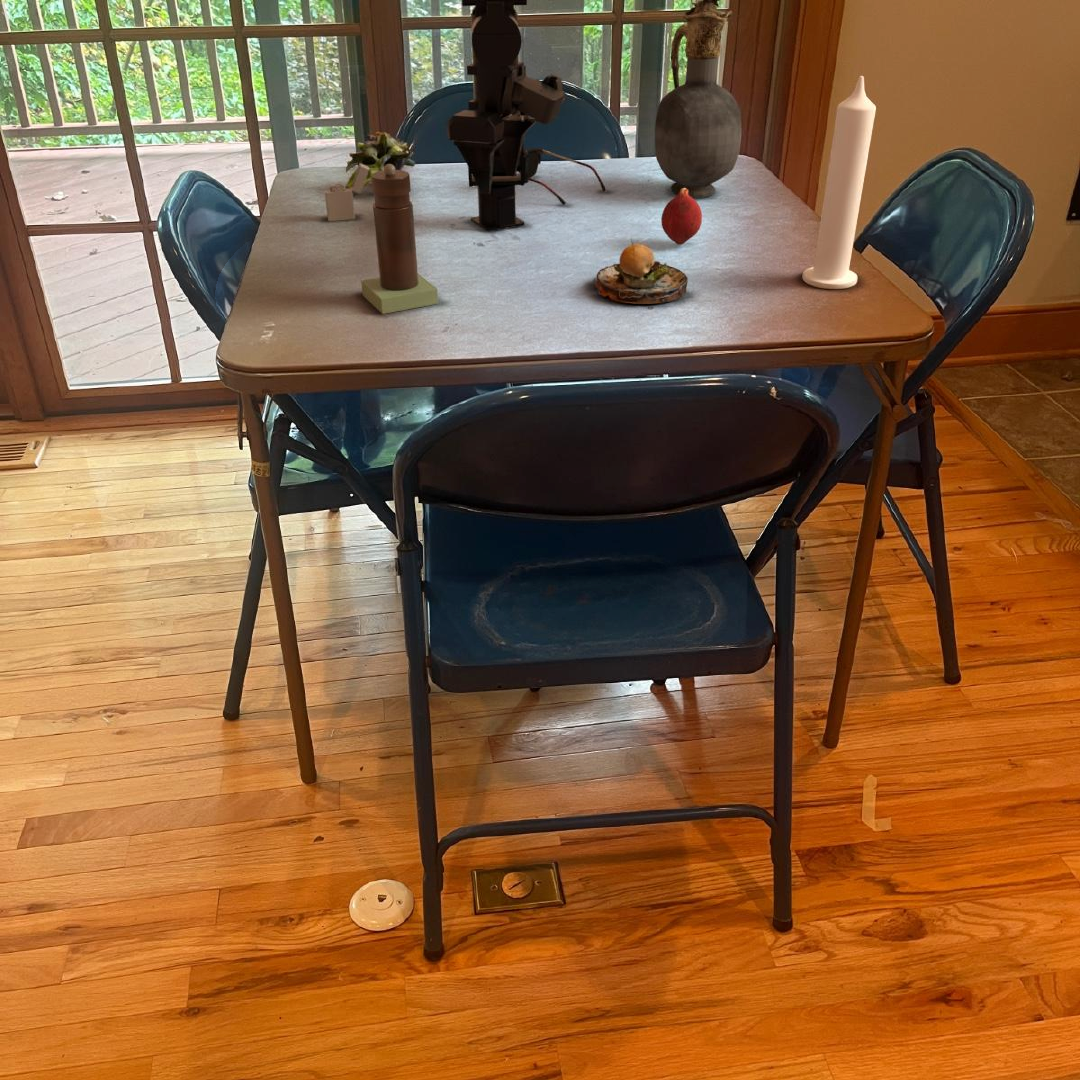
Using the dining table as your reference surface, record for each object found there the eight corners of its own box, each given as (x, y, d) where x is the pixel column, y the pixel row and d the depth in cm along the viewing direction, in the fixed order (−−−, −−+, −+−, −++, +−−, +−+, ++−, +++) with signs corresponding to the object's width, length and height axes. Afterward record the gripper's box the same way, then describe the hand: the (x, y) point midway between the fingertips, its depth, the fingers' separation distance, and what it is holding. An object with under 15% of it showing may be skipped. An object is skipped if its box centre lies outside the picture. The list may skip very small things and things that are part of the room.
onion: (698, 252, 143) (703, 195, 139) (658, 249, 144) (661, 193, 140) (701, 239, 148) (705, 184, 143) (662, 237, 149) (665, 182, 144)
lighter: (328, 221, 157) (322, 168, 152) (327, 218, 158) (321, 165, 154) (374, 217, 158) (369, 164, 154) (372, 214, 160) (367, 162, 155)
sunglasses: (539, 174, 179) (541, 145, 176) (610, 195, 171) (613, 165, 168) (487, 190, 171) (487, 160, 168) (558, 213, 163) (560, 182, 160)
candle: (826, 292, 129) (859, 83, 115) (791, 276, 135) (818, 74, 121) (868, 283, 132) (905, 77, 118) (831, 268, 137) (863, 69, 123)
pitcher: (681, 207, 162) (696, -3, 145) (637, 178, 177) (646, -15, 160) (742, 201, 164) (764, -6, 148) (694, 173, 179) (709, -17, 163)
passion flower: (385, 216, 177) (414, 153, 175) (405, 221, 168) (436, 153, 166) (328, 185, 171) (357, 118, 169) (345, 187, 162) (376, 117, 160)
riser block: (362, 295, 130) (360, 280, 128) (416, 285, 132) (415, 270, 131) (382, 314, 124) (380, 298, 123) (438, 303, 127) (437, 288, 126)
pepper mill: (379, 279, 129) (368, 160, 121) (417, 276, 130) (407, 158, 121) (381, 292, 125) (369, 170, 117) (419, 289, 126) (410, 168, 117)
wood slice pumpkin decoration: (704, 294, 129) (710, 236, 125) (631, 312, 124) (633, 253, 120) (648, 268, 138) (651, 213, 133) (577, 284, 132) (577, 228, 128)
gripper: (530, 70, 114) (532, 209, 123) (580, 47, 129) (578, 172, 138) (441, 65, 117) (449, 201, 126) (499, 43, 132) (502, 166, 141)
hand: (498, 184), depth 133 cm, fingers open, 9 cm apart
